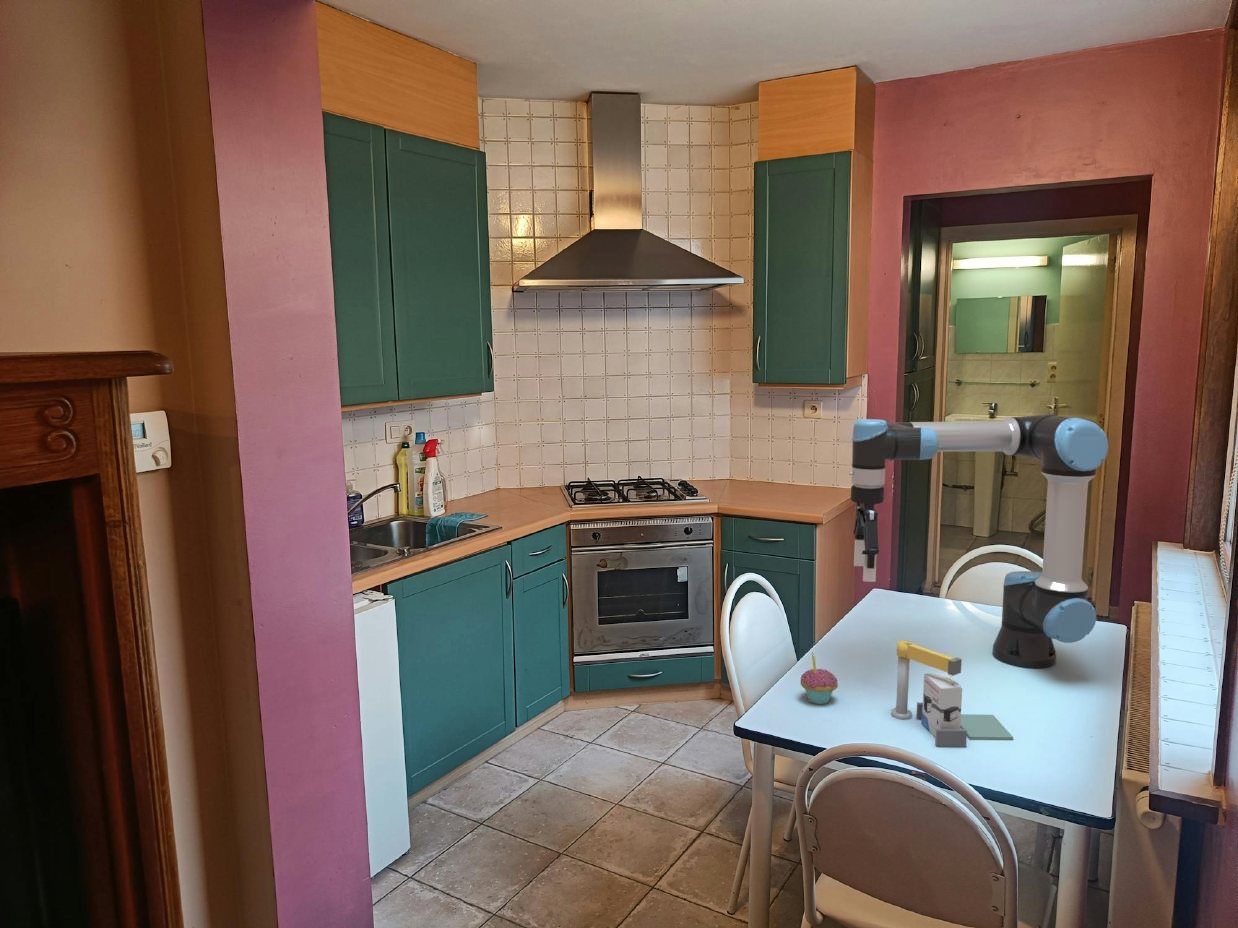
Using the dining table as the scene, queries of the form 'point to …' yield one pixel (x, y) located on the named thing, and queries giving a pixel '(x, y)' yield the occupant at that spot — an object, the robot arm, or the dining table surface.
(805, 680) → the cupcake
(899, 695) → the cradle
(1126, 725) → the dining table surface
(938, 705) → the ink box
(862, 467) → the robot arm
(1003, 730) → the mat
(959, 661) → the yellow long bar
